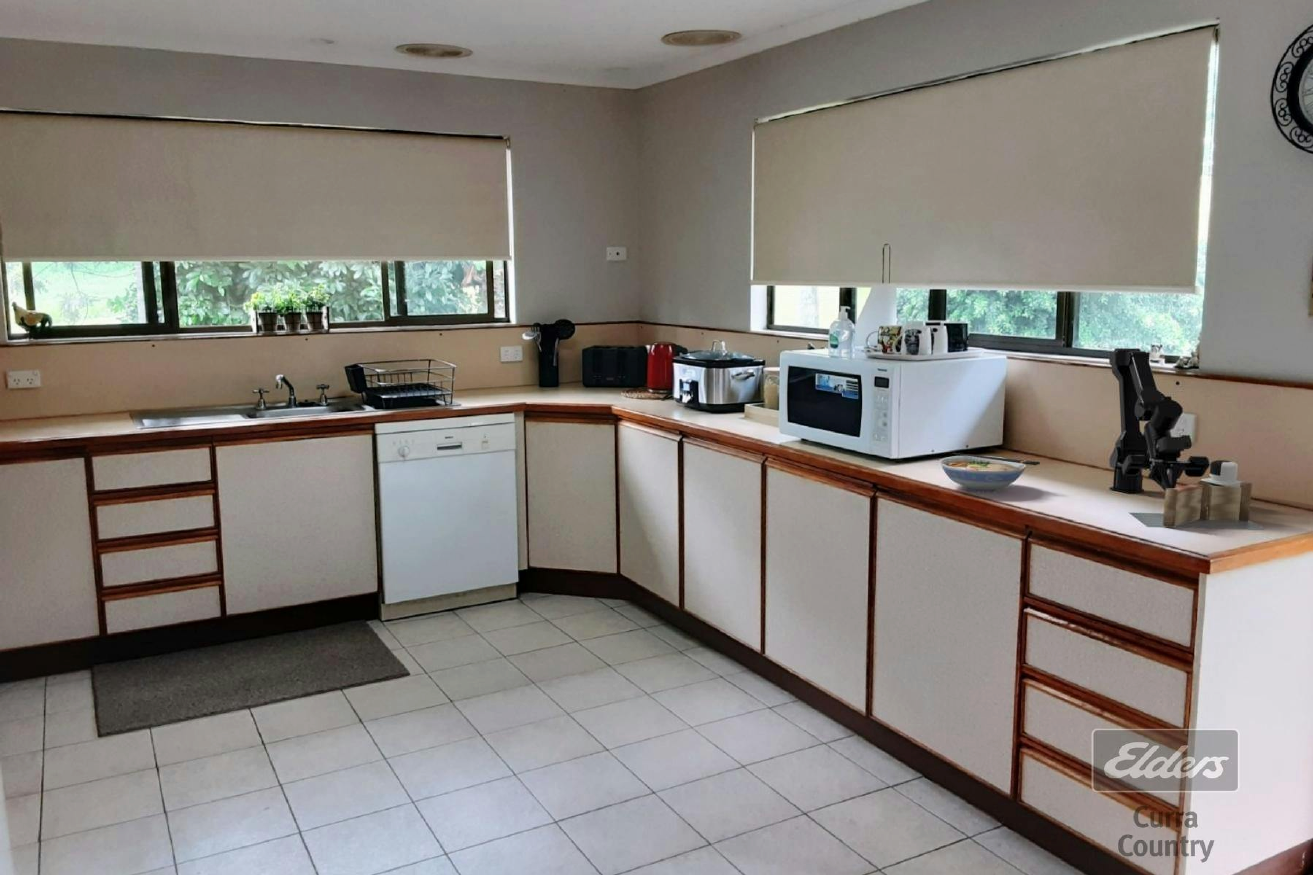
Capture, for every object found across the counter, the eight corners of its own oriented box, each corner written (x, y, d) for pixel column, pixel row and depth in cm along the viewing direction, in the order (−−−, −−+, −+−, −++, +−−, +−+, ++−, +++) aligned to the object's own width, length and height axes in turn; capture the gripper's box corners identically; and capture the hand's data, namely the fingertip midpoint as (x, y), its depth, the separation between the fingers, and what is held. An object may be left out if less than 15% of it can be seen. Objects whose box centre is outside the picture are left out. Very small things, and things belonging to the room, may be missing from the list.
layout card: (1147, 528, 240) (1147, 526, 240) (1128, 514, 254) (1128, 512, 253) (1266, 531, 236) (1266, 529, 236) (1240, 516, 250) (1240, 514, 250)
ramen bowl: (918, 488, 283) (919, 459, 282) (960, 476, 299) (962, 448, 298) (1003, 503, 266) (1005, 472, 264) (1043, 489, 281) (1045, 460, 280)
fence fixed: (1197, 520, 246) (1200, 483, 244) (1193, 517, 248) (1196, 481, 246) (1250, 521, 244) (1253, 484, 243) (1245, 518, 246) (1249, 482, 245)
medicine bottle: (1197, 506, 261) (1201, 459, 259) (1218, 503, 264) (1222, 457, 262) (1221, 512, 255) (1226, 464, 253) (1243, 509, 257) (1247, 462, 255)
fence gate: (1191, 517, 247) (1194, 482, 245) (1201, 519, 245) (1204, 484, 243) (1160, 525, 240) (1163, 489, 238) (1170, 527, 238) (1173, 490, 236)
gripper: (1129, 422, 250) (1140, 476, 241) (1210, 423, 247) (1225, 478, 239) (1116, 447, 259) (1127, 501, 250) (1195, 449, 257) (1208, 502, 248)
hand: (1171, 495), depth 246 cm, fingers closed
